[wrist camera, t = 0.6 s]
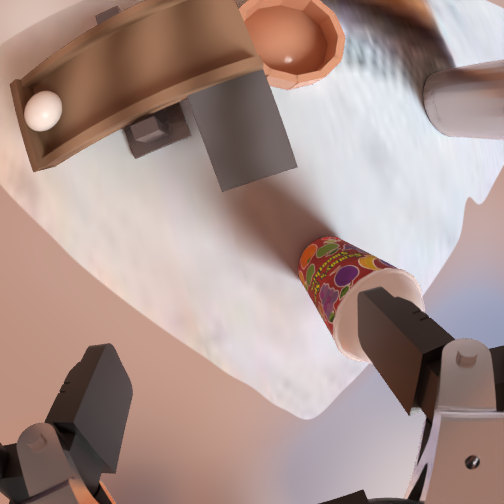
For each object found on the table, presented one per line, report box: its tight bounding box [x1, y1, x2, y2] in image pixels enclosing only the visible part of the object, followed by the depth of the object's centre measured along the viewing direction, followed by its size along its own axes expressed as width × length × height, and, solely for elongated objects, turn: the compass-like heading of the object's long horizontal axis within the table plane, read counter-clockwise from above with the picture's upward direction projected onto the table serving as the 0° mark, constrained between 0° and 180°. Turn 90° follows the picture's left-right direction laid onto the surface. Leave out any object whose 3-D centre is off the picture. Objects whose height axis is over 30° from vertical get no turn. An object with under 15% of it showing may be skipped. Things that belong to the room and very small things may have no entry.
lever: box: [10, 0, 297, 192], centre depth 21 cm, size 20×17×5 cm
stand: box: [96, 6, 191, 159], centre depth 23 cm, size 6×14×8 cm, turn 19°
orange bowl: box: [239, 0, 345, 90], centre depth 26 cm, size 11×11×4 cm
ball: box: [24, 91, 62, 131], centre depth 19 cm, size 4×4×4 cm
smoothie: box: [298, 236, 425, 364], centre depth 26 cm, size 8×8×20 cm
